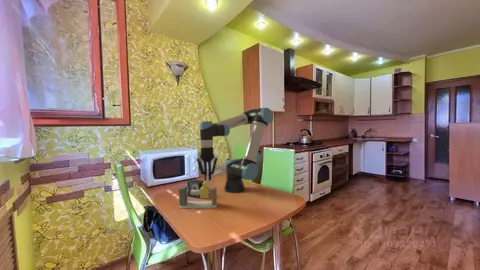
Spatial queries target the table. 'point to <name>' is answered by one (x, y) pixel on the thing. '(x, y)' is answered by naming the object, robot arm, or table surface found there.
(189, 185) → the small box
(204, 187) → the sleeve
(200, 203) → the rail
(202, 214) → the table surface
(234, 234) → the table surface
